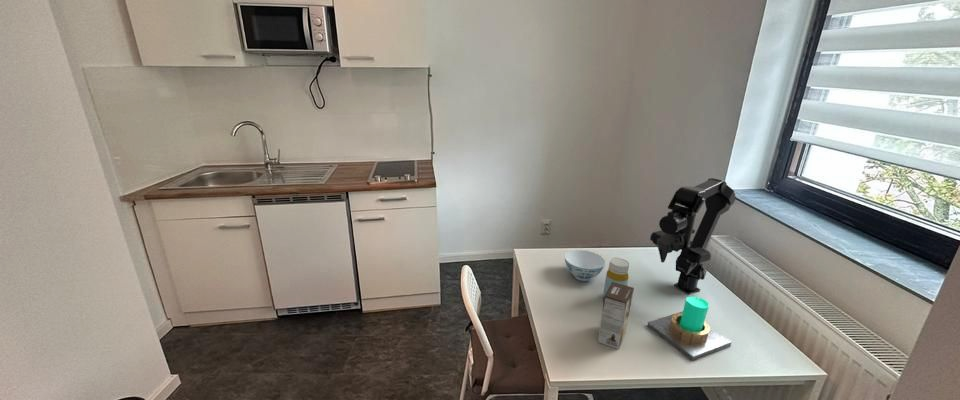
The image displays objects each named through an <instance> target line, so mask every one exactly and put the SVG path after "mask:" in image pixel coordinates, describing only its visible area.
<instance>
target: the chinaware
mask: <svg viewBox="0 0 960 400" xmlns="http://www.w3.org/2000/svg"><path fill="white" fill-rule="evenodd" d="M564 263H565V266H566V269H568V271H569V272H570V273H571V275H573V277H574V278H575V279H576V280H578V281H582V282H587V281H591V280H592V279H593V278H595V277H597V276H598V275H600V274H601V272H602V271H603V269H604V267H605V265H606V260H605V258H604V257H603V256H602V255H601V254H598V253H596V252H594V251H591V250H586V249H585V250H584V249H573V250H569V251H567V252H565V254H564Z"/></svg>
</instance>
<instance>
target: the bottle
mask: <svg viewBox="0 0 960 400" xmlns="http://www.w3.org/2000/svg"><path fill="white" fill-rule="evenodd" d="M629 269H630V261H628V260H626V259H625V258H621V257H612V258H610V259H609V265H608V269H607V271H606V274H605V279H604V280H605V281H604V288H603V294H602V298H603V299H604V296H605V294H606V292H607V291H608V289H609V287H610V285H611V283H612V282H614V283H618V284H622V285H626V286H628V283H629V282H628V281H629V277H630V276H629Z"/></svg>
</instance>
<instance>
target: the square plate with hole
mask: <svg viewBox="0 0 960 400" xmlns="http://www.w3.org/2000/svg"><path fill="white" fill-rule="evenodd" d="M682 313H683V310H682V311H679V312H676V313H673V314H670V315H666V316H663V317H660V318H657V319H654V320H651V321H650V320H649V321H647V324H646V327H647V328H648V329H650V330H651V331H653V332H654V333H655V334H656V335H657V336H659V337H660V338H662V339H663V340H664V341H665V342H667V344H669V345H670V346H672V347H673V348H674V349H676V350H677V351H679V353H681V354H682V355H683V356H685V357H686V358H687V359H688V360H690V361H692V362H693V361H696V360H698V359H701V358H704V357H706V356H709V355H712V354H714V353H716V352H718V351H722V350H724V349H726V348H729V347H731V345H732V341H731V340H730V339H728V338H726V337H725V336H723V335H722V334H721V333H719V332H717V331H716V330H715V329H713V328H712V327H710V326H709V324H708V323H707V322H706V320H705V321H704V325H703V328H702V331H701V332H693V331H690V330H687V329H684V328H683V327H681V326H680V325H679V324H680V321H681V317H682Z"/></svg>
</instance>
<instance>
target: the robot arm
mask: <svg viewBox="0 0 960 400" xmlns="http://www.w3.org/2000/svg"><path fill="white" fill-rule="evenodd" d="M736 198H737V196H736V193H735V190H734V189H733V188H732V187H730V186H729V185H728V184H727V182H726V181H725V180H724V179H718V178H714V177H711V178H708V179H707V181H703V182H702V183H699V184H697V185H694V186H687V185H686V186H681V187H679V188H678V189H677V190H676V191H675V193H674V195H673V196H672V199H671V200H670V202H669V204H668V206H667V209H669V210H671V211H668V212H667V215H664V216H662V217H661V219H660V220H659V222H658V223H659V224H658V225H659V228H660V230H658V231H657V230H656V231H653V232H652V233H651V234H650V238H649V241H652V244H654V245H655V246H656V247H657V249H658V252H659V253H658V254H659V257H660V258H659V259H660V262H661V263H665V261H666V259H667V256H668V254H671V253H672V252H673V251H674V252H675V253H676V252H679V251H680V250H681V251H680V254H679V255H678V256H677V257H676V259H675V271H676V272H679V277H678V280H677V282H676V283H673V286H674V287H675V288H677V289H679V290H680V291H682V292H683V293H685V294H687V295H690V294H694V293H697V292H700V291H701V289H700V288H698V287H697V286H698V284H699V283H698V282H699V281H700V280H703V281H704V280H705V278H706V275H707V268H706V266H705V263H706V262H709V261H710V260H711V257H712V254H711V252H710V251H709V250H707V246H708V243H709V242H710V239H711V237H712V235H713V232H714V230H715V228H716V226H717V224H718V222H719V219H720V217H721V215H723V214H724V213H726V212H728V211H729V210H730V209H731V206H733V205H734V204H735V202H736ZM704 204H705V208H706V209H705V213H704V214H703V216H702V219H701V221H700V222H699V225H698V227H697V229H696V230H695V229H694V225H695V221H696V216H697V214H698V213H699V211H700V209H701V208H702V206H703V205H704ZM695 231H696V232H695ZM693 234H695V235H694V236H693V238H692V235H693ZM691 238H692V239H691Z"/></svg>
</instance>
